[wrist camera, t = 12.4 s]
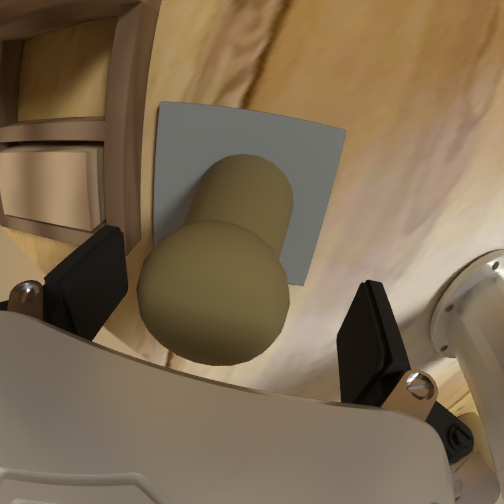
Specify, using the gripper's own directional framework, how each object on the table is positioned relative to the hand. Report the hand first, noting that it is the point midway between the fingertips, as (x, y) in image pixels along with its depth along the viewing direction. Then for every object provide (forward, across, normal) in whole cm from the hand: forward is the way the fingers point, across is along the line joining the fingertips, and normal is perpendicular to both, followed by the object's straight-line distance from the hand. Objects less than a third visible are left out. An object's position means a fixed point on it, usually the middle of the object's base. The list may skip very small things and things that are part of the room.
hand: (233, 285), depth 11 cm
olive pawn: (+8, +1, 0) cm, 8 cm away
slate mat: (+9, +2, 0) cm, 9 cm away
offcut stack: (+8, +16, 0) cm, 18 cm away
